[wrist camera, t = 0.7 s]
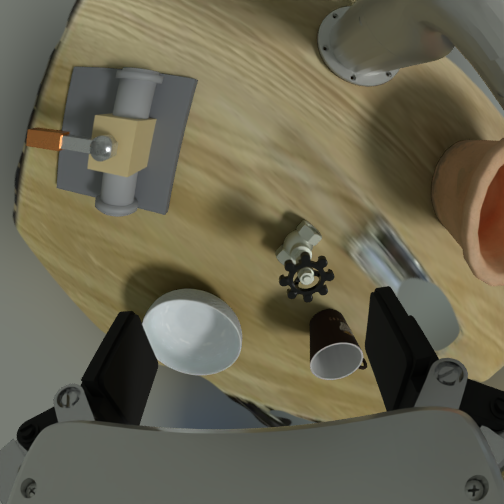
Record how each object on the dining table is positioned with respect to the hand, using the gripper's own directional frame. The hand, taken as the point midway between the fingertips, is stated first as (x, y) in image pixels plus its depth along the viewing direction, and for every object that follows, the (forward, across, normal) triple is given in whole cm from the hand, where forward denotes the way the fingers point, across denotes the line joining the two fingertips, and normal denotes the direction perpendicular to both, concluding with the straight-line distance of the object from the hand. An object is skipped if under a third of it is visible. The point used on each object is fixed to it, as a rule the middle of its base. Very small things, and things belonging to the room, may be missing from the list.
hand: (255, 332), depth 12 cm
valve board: (+34, +20, -9) cm, 40 cm away
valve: (+34, -5, +11) cm, 36 cm away
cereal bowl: (+34, +14, +24) cm, 44 cm away
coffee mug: (+34, -10, +30) cm, 46 cm away
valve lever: (+24, +22, -10) cm, 34 cm away
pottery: (+34, -36, +5) cm, 49 cm away
